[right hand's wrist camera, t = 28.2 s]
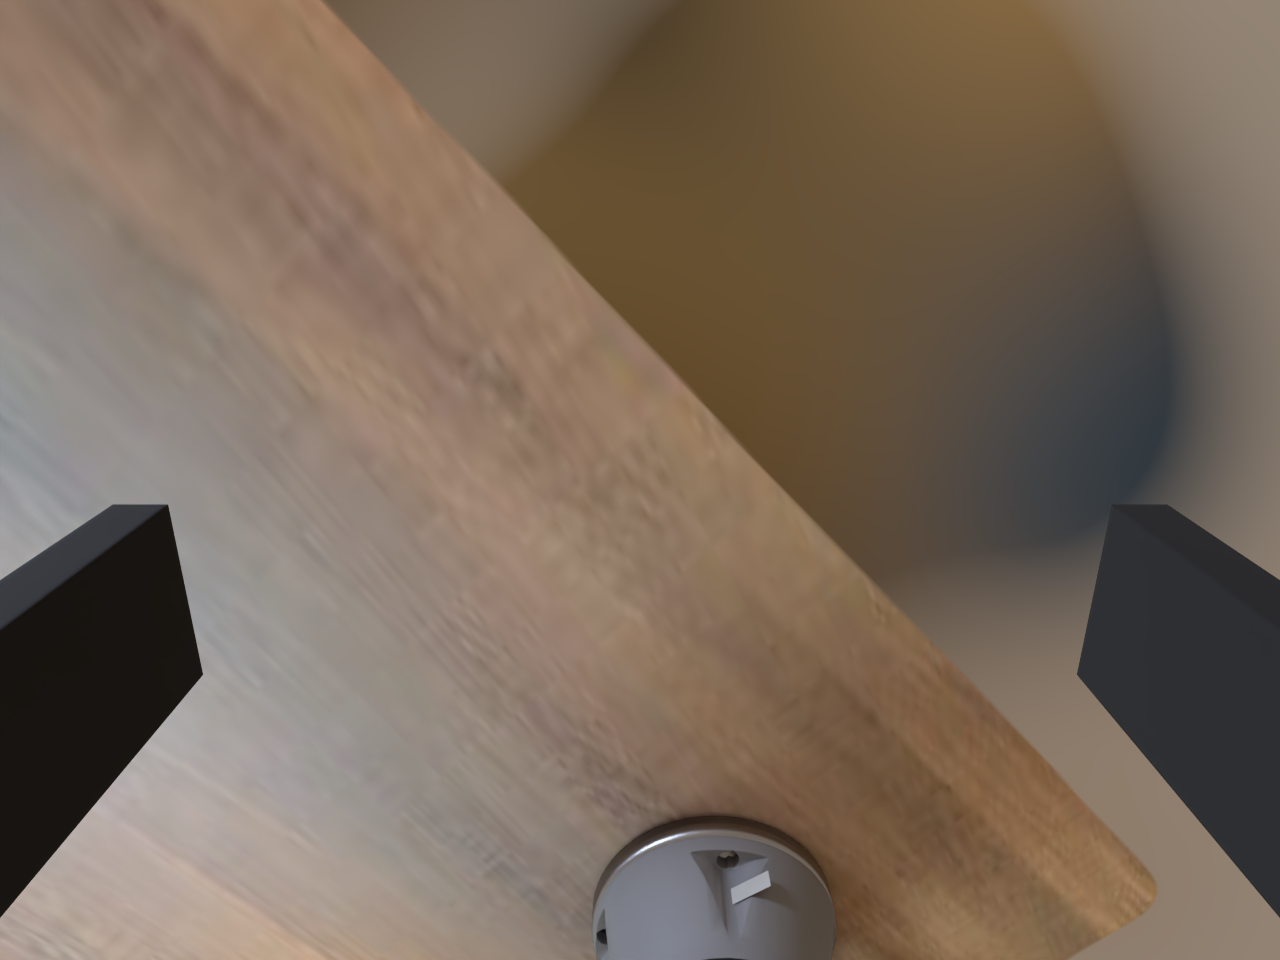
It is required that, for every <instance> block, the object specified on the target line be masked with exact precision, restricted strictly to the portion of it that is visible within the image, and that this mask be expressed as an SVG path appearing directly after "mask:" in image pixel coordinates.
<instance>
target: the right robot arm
mask: <svg viewBox="0 0 1280 960" xmlns="http://www.w3.org/2000/svg"><path fill="white" fill-rule="evenodd" d="M202 675H203V673H202V668H201V663H200V658H199V653H198V648H197V643H196V638H195V634H194V629H193V624H192V619H191V614H190V609H189V604H188V600H187V595H186V590H185V585H184V580H183V575H182V570H181V566H180V561H179V556H178V551H177V546H176V541H175V536H174V532H173V527H172V522H171V517H170V512H169V507H168V505H112V506H110V507H109V508H107V509H106V510H104V511H103V512H101V513H100V514H98V515H97V516H95V517H94V518H92V519H91V520H89V521H88V522H86V523H85V524H83V525H82V526H80V527H79V528H77V529H76V530H74V531H73V532H71V533H70V534H68V535H67V536H65V537H64V538H62V539H61V540H59V541H58V542H57V543H55V544H54V545H52V546H51V547H49V548H48V549H46V550H45V551H43V552H42V553H40V554H39V555H37V556H36V557H34V558H33V559H31V560H30V561H28V562H27V563H25V564H24V565H22V566H21V567H19V568H18V569H16V570H15V571H13V572H12V573H10V574H9V575H7V576H6V577H4V578H3V579H1V580H0V917H1V916H2V915H3V914H4V913H5V911H6V910H7V909H8V908H9V907H10V905H11V904H12V903H13V902H14V901H15V899H16V898H17V897H18V896H19V895H20V893H21V892H22V891H23V890H24V889H25V887H26V886H27V885H28V884H29V883H30V881H31V880H32V879H33V878H34V877H35V875H36V874H37V873H38V872H39V871H40V869H41V868H42V867H43V866H44V865H45V863H46V862H47V861H48V860H49V859H50V857H51V856H52V855H53V854H54V853H55V851H56V850H57V849H58V848H59V847H60V845H61V844H62V843H63V842H64V841H65V839H66V838H67V837H68V836H69V835H70V833H71V832H72V831H73V830H74V829H75V827H76V826H77V825H78V824H79V823H80V821H81V820H82V819H83V818H84V817H85V815H86V814H87V813H88V812H89V811H90V809H91V808H92V807H93V806H94V805H95V803H96V802H97V801H98V800H99V799H100V797H101V796H102V795H103V794H104V793H105V791H106V790H107V789H108V788H109V787H110V785H111V784H112V783H113V782H114V781H115V779H116V778H117V777H118V776H119V775H120V773H121V772H122V771H123V770H124V769H125V767H126V766H127V765H128V764H129V763H130V761H131V760H132V759H133V758H134V757H135V755H136V754H137V753H138V752H139V751H140V749H141V748H142V747H143V746H144V745H145V743H146V742H147V741H148V740H149V739H150V738H151V736H152V735H153V734H154V733H155V732H156V730H157V729H158V728H159V727H160V726H161V724H162V723H163V722H164V721H165V720H166V718H167V717H168V716H169V715H170V714H171V712H172V711H173V710H174V709H175V708H176V706H177V705H178V704H179V703H180V702H181V700H182V699H183V698H184V697H185V696H186V694H187V693H188V692H189V691H190V690H191V688H192V687H193V686H194V685H195V684H196V682H197V681H198V680H199V679H200V678H201V676H202ZM1077 675H1078V676H1079V678H1080V679H1081V680H1082V681H1083V682H1084V684H1085V685H1086V686H1087V687H1088V688H1089V690H1090V691H1091V692H1092V693H1093V694H1094V695H1095V697H1096V698H1097V699H1098V700H1099V702H1100V703H1101V704H1102V705H1103V706H1104V708H1105V709H1106V710H1107V711H1108V712H1109V714H1110V715H1111V716H1112V717H1113V718H1114V719H1115V721H1116V722H1117V723H1118V724H1119V726H1120V727H1121V728H1122V729H1123V730H1124V731H1125V733H1126V734H1127V735H1128V736H1129V738H1130V739H1131V740H1132V741H1133V742H1134V743H1135V745H1136V746H1137V747H1138V748H1139V749H1140V751H1141V752H1142V753H1143V754H1144V755H1145V757H1146V758H1147V759H1148V760H1149V761H1150V763H1151V764H1152V765H1153V766H1154V767H1155V769H1156V770H1157V771H1158V772H1159V773H1160V775H1161V776H1162V777H1163V778H1164V779H1165V781H1166V782H1167V783H1168V784H1169V785H1170V787H1171V788H1172V789H1173V790H1174V791H1175V793H1176V794H1177V795H1178V796H1179V797H1180V799H1181V800H1182V801H1183V802H1184V803H1185V805H1186V806H1187V807H1188V808H1189V809H1190V811H1191V812H1192V813H1193V814H1194V815H1195V817H1196V818H1197V819H1198V820H1199V821H1200V823H1201V824H1202V825H1203V826H1204V827H1205V829H1206V830H1207V831H1208V832H1209V833H1210V835H1211V836H1212V837H1213V838H1214V839H1215V841H1216V842H1217V843H1218V844H1219V845H1220V847H1221V848H1222V849H1223V850H1224V851H1225V853H1226V854H1227V855H1228V856H1229V857H1230V859H1231V860H1232V861H1233V862H1234V863H1235V865H1236V866H1237V867H1238V868H1239V869H1240V871H1241V872H1242V873H1243V874H1244V875H1245V877H1246V878H1247V879H1248V880H1249V881H1250V883H1251V884H1252V885H1253V886H1254V887H1255V889H1256V890H1257V891H1258V892H1259V893H1260V895H1261V896H1262V897H1263V898H1264V899H1265V901H1266V902H1267V903H1268V904H1269V905H1270V906H1271V908H1272V909H1273V910H1274V911H1275V913H1276V914H1277V915H1278V916H1279V917H1280V580H1279V579H1277V578H1276V577H1274V576H1273V575H1271V574H1270V573H1268V572H1267V571H1265V570H1264V569H1262V568H1261V567H1259V566H1258V565H1256V564H1255V563H1253V562H1252V561H1250V560H1249V559H1247V558H1246V557H1244V556H1243V555H1241V554H1240V553H1238V552H1237V551H1235V550H1234V549H1232V548H1231V547H1229V546H1228V545H1226V544H1225V543H1223V542H1222V541H1220V540H1219V539H1218V538H1216V537H1215V536H1213V535H1212V534H1210V533H1209V532H1207V531H1206V530H1204V529H1203V528H1201V527H1200V526H1198V525H1197V524H1195V523H1194V522H1192V521H1191V520H1189V519H1188V518H1186V517H1185V516H1183V515H1182V514H1180V513H1179V512H1177V511H1176V510H1174V509H1173V508H1171V507H1170V506H1168V505H1112V507H1111V512H1110V517H1109V522H1108V527H1107V532H1106V536H1105V541H1104V546H1103V551H1102V556H1101V561H1100V566H1099V570H1098V575H1097V580H1096V585H1095V590H1094V595H1093V600H1092V604H1091V609H1090V614H1089V619H1088V624H1087V629H1086V634H1085V638H1084V643H1083V648H1082V653H1081V658H1080V663H1079V668H1078V673H1077ZM835 938H836V916H835V910H834V906H833V902H832V898H831V894H830V890H829V886H828V883H827V880H826V878H825V875H824V873H823V871H822V869H821V867H820V866H819V864H818V863H817V861H816V860H815V859H814V858H813V856H812V855H811V854H810V853H809V852H808V851H807V850H806V849H805V848H804V847H803V846H802V845H801V844H799V843H798V842H797V841H795V840H794V839H793V838H791V837H789V836H788V835H786V834H784V833H783V832H781V831H779V830H777V829H775V828H772V827H770V826H767V825H764V824H762V823H758V822H755V821H751V820H746V819H741V818H734V817H723V816H709V817H697V818H689V819H684V820H679V821H676V822H672V823H669V824H666V825H663V826H660V827H658V828H655V829H653V830H651V831H649V832H647V833H645V834H643V835H642V836H640V837H638V838H637V839H635V840H634V841H632V842H631V843H630V844H628V845H627V846H626V847H625V848H623V849H622V850H621V851H620V852H619V853H618V854H617V855H616V856H615V857H614V858H613V860H612V861H611V862H610V863H609V865H608V866H607V868H606V869H605V871H604V872H603V874H602V876H601V878H600V880H599V883H598V885H597V888H596V892H595V896H594V902H593V917H592V939H593V945H594V949H595V954H596V957H597V960H832V953H833V949H834V945H835Z"/></svg>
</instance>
